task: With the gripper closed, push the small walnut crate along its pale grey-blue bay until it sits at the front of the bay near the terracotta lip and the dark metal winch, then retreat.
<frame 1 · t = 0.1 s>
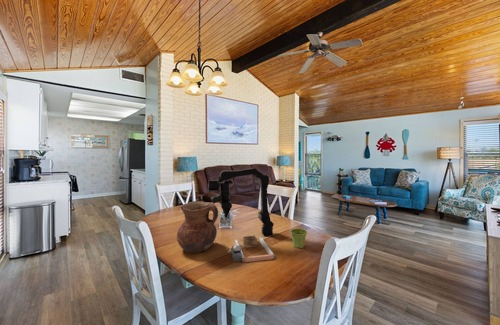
hand: (225, 215, 135), 15 cm above the table, fingers open, 9 cm apart
bay: (253, 250, 119), on the table
crate: (250, 241, 126), point 2 cm above the table, slide at 0.0 cm
plant pot: (298, 246, 125), on the table
winch: (236, 259, 110), on the table
jug: (197, 248, 123), on the table
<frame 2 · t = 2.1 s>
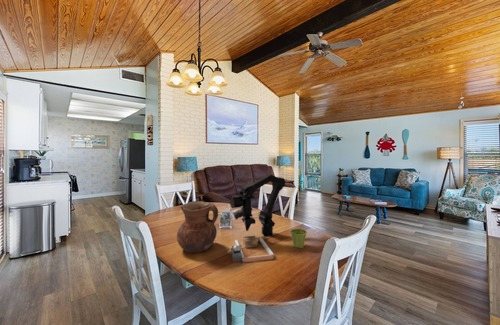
hand: (247, 230, 135), 5 cm above the table, fingers closed
nothing on the table moved.
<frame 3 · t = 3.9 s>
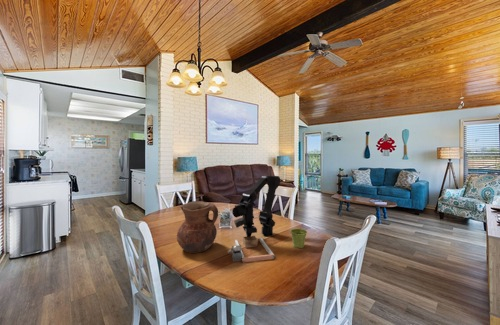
hand: (248, 239, 131), 2 cm above the table, fingers closed
crate: (250, 241, 126), point 2 cm above the table, slide at 0.0 cm, touching gripper
everything else where it was.
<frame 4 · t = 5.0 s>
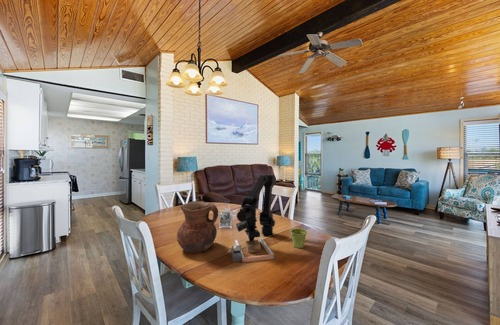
hand: (250, 243, 124), 2 cm above the table, fingers closed
crate: (252, 245, 120), point 2 cm above the table, slide at 6.3 cm, touching gripper
everything else where it was.
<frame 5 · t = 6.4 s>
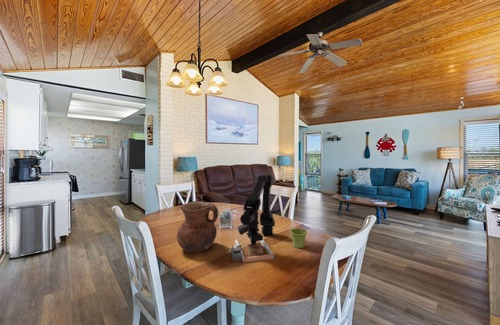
hand: (252, 247, 120), 2 cm above the table, fingers closed
crate: (255, 249, 115), point 2 cm above the table, slide at 11.1 cm, touching gripper
everything else where it was.
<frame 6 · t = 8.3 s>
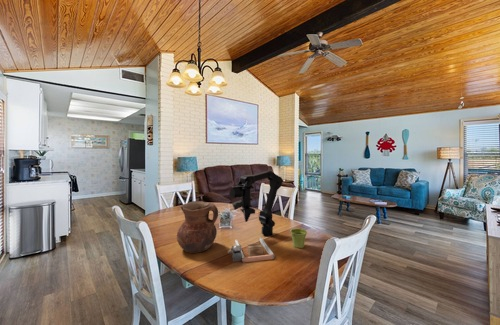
hand: (246, 221, 131), 12 cm above the table, fingers closed
crate: (255, 249, 115), point 2 cm above the table, slide at 11.1 cm
everything else where it was.
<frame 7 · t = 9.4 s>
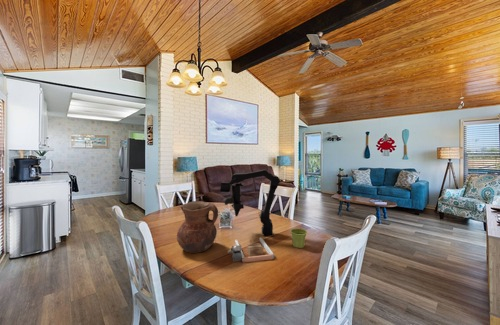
hand: (236, 216, 142), 12 cm above the table, fingers closed
nothing on the table moved.
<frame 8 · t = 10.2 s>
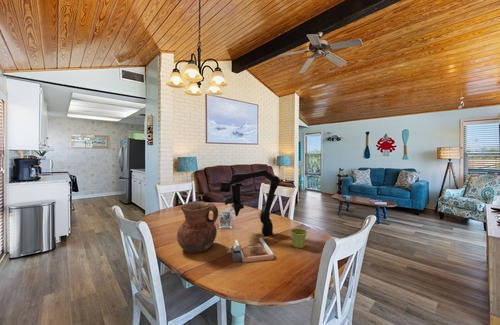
hand: (236, 216, 142), 12 cm above the table, fingers closed
nothing on the table moved.
at the end: crate slide at 11.1 cm; crate inside the target area (0.6 cm from its centre), resting in bay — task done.
